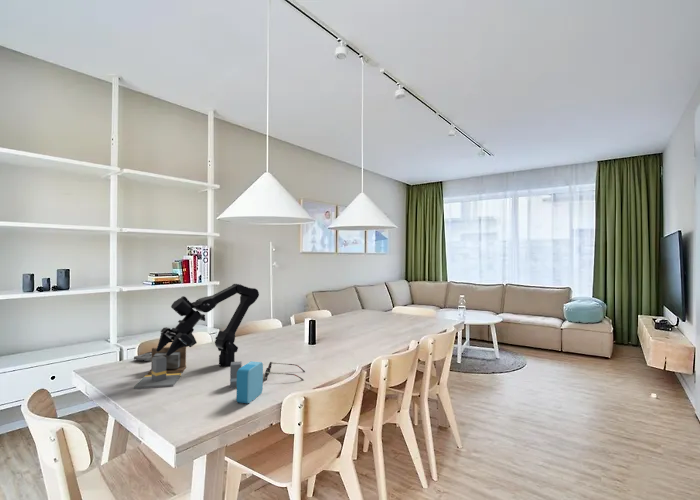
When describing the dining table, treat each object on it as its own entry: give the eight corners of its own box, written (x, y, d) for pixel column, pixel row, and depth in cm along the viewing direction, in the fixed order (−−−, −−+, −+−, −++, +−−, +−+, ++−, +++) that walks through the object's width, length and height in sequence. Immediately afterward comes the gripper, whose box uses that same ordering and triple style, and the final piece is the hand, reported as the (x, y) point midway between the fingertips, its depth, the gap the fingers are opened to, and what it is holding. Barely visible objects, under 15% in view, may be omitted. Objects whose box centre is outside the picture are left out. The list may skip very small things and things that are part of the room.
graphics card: (157, 346, 195) (174, 348, 191) (157, 353, 195) (174, 355, 191) (128, 355, 180) (146, 357, 175) (128, 362, 179) (146, 365, 175)
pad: (181, 375, 159) (181, 373, 159) (173, 386, 146) (173, 384, 146) (145, 377, 156) (145, 375, 156) (134, 388, 143) (134, 386, 143)
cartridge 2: (241, 383, 150) (241, 361, 150) (240, 387, 146) (241, 364, 146) (230, 384, 149) (231, 362, 149) (230, 387, 145) (230, 365, 145)
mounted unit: (186, 367, 170) (186, 345, 170) (182, 372, 163) (183, 349, 163) (152, 369, 167) (153, 347, 167) (147, 374, 160) (148, 351, 160)
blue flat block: (251, 391, 141) (252, 360, 142) (262, 392, 140) (263, 361, 141) (236, 404, 130) (236, 369, 130) (247, 405, 129) (248, 370, 129)
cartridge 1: (161, 377, 154) (162, 355, 154) (166, 379, 151) (166, 357, 151) (151, 379, 151) (151, 357, 151) (155, 382, 148) (156, 359, 148)
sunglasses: (269, 372, 166) (270, 361, 166) (305, 374, 167) (306, 363, 167) (264, 382, 152) (265, 370, 152) (303, 384, 153) (304, 372, 153)
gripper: (211, 337, 159) (186, 368, 150) (190, 330, 171) (165, 359, 162) (194, 321, 153) (166, 353, 144) (173, 315, 165) (147, 345, 156)
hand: (162, 353), depth 152 cm, fingers open, 9 cm apart
